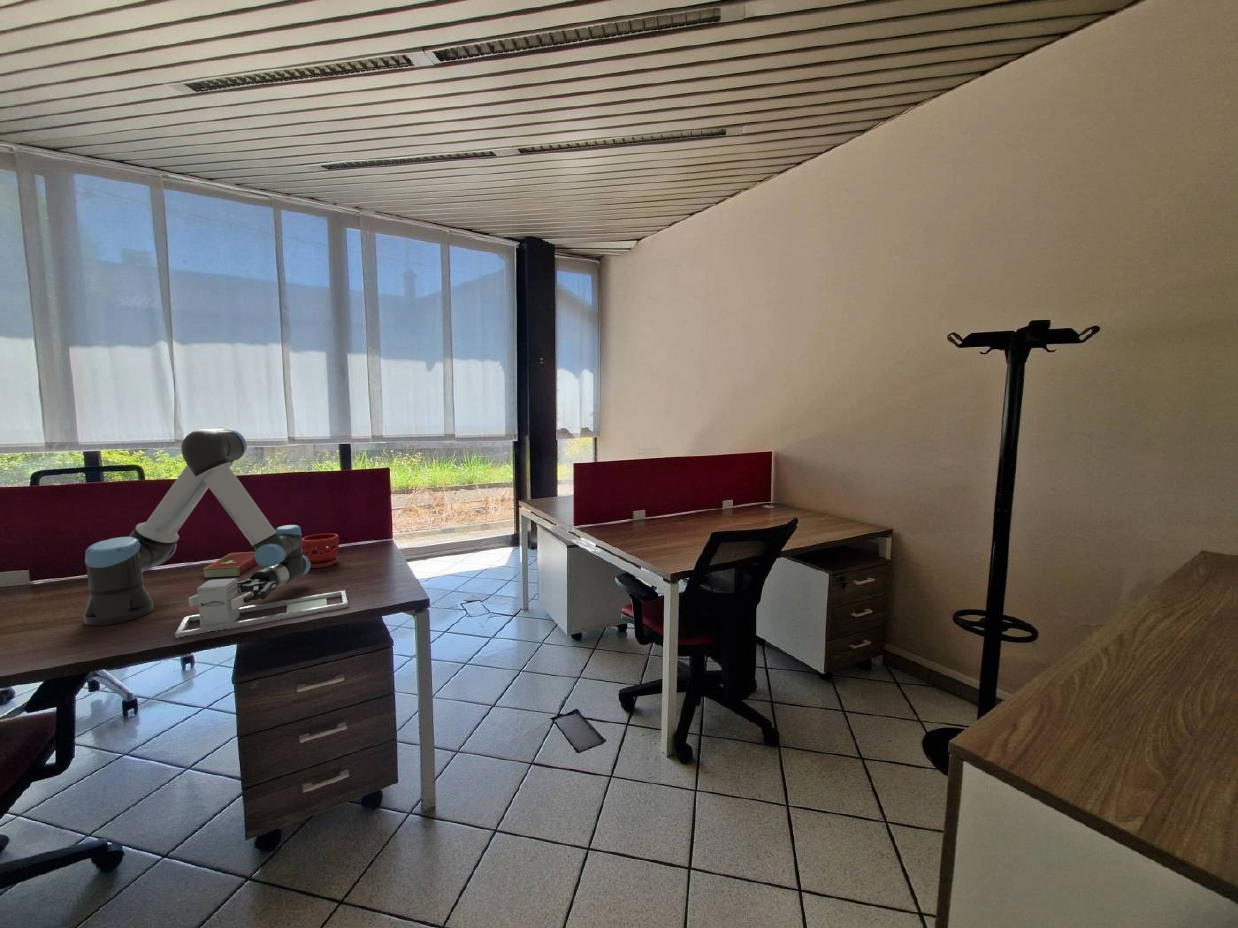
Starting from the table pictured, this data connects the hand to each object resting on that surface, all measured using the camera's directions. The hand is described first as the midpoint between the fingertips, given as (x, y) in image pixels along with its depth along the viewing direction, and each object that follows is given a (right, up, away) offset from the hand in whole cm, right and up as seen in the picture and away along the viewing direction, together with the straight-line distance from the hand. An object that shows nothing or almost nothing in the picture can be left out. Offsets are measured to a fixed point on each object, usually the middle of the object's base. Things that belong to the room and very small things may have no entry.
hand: (211, 603), depth 144 cm
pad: (+19, -6, +15) cm, 25 cm away
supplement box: (0, -7, +4) cm, 8 cm away
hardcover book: (-34, -1, +53) cm, 63 cm away
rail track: (+10, -6, +10) cm, 15 cm away
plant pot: (-3, -1, +58) cm, 58 cm away
